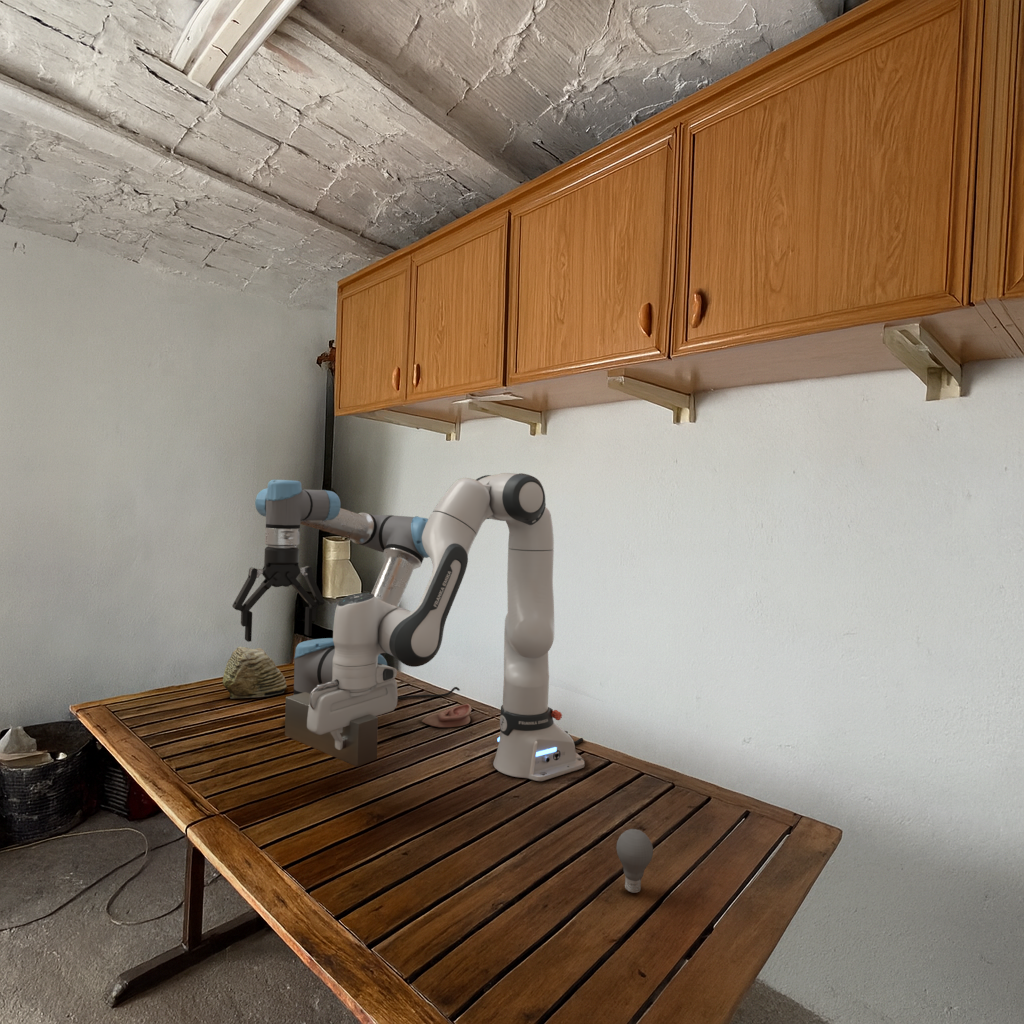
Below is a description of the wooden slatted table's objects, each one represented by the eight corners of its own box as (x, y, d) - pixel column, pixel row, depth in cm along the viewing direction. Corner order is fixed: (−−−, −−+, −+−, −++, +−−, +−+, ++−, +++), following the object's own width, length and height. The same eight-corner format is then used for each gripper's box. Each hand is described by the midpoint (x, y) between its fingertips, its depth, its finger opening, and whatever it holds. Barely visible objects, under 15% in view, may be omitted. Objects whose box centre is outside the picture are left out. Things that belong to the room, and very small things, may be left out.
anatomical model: (418, 710, 178) (431, 698, 189) (418, 724, 178) (431, 711, 189) (464, 716, 175) (474, 703, 186) (463, 730, 175) (474, 716, 186)
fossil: (218, 695, 195) (220, 647, 195) (278, 685, 208) (279, 640, 207) (228, 703, 189) (230, 653, 188) (289, 692, 201) (290, 645, 201)
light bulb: (610, 879, 108) (613, 822, 108) (644, 879, 109) (647, 822, 109) (619, 902, 102) (622, 840, 102) (655, 901, 103) (658, 840, 103)
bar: (284, 735, 138) (285, 697, 137) (304, 729, 141) (305, 691, 141) (357, 767, 123) (358, 723, 123) (377, 759, 127) (378, 717, 127)
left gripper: (228, 548, 136) (224, 646, 137) (340, 547, 151) (336, 635, 151) (220, 545, 142) (217, 639, 143) (328, 544, 157) (325, 629, 158)
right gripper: (321, 690, 117) (319, 764, 117) (402, 668, 133) (401, 733, 134) (300, 683, 121) (299, 755, 121) (382, 662, 137) (381, 726, 137)
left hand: (278, 637), depth 147 cm, fingers open, 13 cm apart
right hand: (353, 743), depth 127 cm, fingers closed on bar, 5 cm apart
